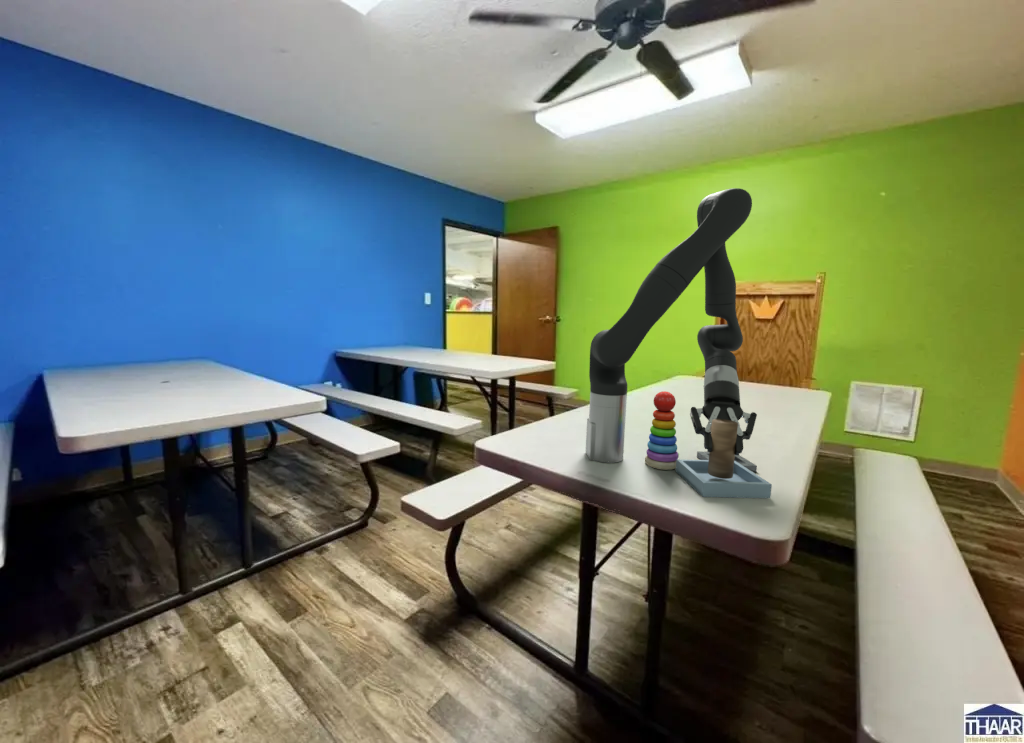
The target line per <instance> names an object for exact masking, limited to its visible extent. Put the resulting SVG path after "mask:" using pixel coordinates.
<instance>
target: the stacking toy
mask: <svg viewBox="0 0 1024 743" xmlns="http://www.w3.org/2000/svg"><path fill="white" fill-rule="evenodd" d="M676 402H677V401H676V397H675V395H674V394H672V393H671V392H669V391H660V392H657V394H655V395H654V397H653V405H654V407H655V410H654V411H653V413H652V416H653V419H652V420H651V424H652V425H651V427H650V431H649V432H650V434H649V435H648V439H649V440H648V441H647V449H646V455H645V457H644V462H645V464H646V465H647V466H648V467H651V468H654V469H656V470H661V471H665V470H667V471H671V470H676V460H677V459H679V457H680V456H679V452H678V451H677V450H678V445H677V444H676V443H677V441H678V440H677V436H676V434H677V430H676V428H675V427H676V426H677V423H676V421H675V420H674V419H675V417H676V414H675V412H674V411H672V410H673V409H674V408H675V406H676Z"/></svg>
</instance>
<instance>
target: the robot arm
mask: <svg viewBox="0 0 1024 743" xmlns="http://www.w3.org/2000/svg"><path fill="white" fill-rule="evenodd" d="M752 200H753V198H752V195H751V194H750V193H749V192H748V190H746V189H743V188H736V187H735V188H734V187H733V188H729V189H727V188H726V189H724V190H719V191H717V192H713V193H710V194H709V195H707V196H705V197H704V198H702V200H701V201H700V203H699V204H698V207H697V210H696V220H697V229H696V230H694V232H693V233H691V235H689V236H688V237H687V238H685V239H684V240H683V241H682V242H680V243H679V244H677V245H676V246H675V247H673V249H671V250H670V251H669V252H667V253H666V254H665V255H664V256H663V257H662V258H661V259H660V260H659V261H658V262H657V263H656V264H655V266H654V267H653V268H651V271H650V272H649V273H648V274H647V275H646V277H645V278H644V280H643V281H642V282H641V284H640V286H639V288H638V290H637V292H636V294H635V295H634V298H633V300H632V302H631V304H630V305H629V307H628V308H627V310H626V312H624V313H623V315H622V316H621V317H620V318H619V319H618V320H617V322H616V323H615V324H613V325H612V327H610V328H609V329H603V330H601V331H598V332H597V333H596V334H595V335H594V336H593V338H592V340H591V342H590V347H589V374H588V375H589V376H588V377H589V383H590V384H589V385H590V386H589V387H590V388H589V390H590V391H589V392H590V393H589V409H588V410H589V412H588V417H587V418H586V436H585V437H586V438H585V454H586V457H587V458H588V460H589V461H595V462H601V463H619V462H621V461H623V460H624V452H625V450H624V447H625V436H626V435H625V432H626V419H627V418H626V416H627V415H626V413H627V403H628V402H627V400H628V399H627V398H628V381H627V378H626V373H625V372H626V371H625V369H626V363H628V362H629V361H630V360H631V358H632V357H633V355H634V354H635V352H636V350H638V348H639V346H640V345H641V344H642V342H643V340H644V339H645V337H646V336H647V334H648V333H649V332H650V330H651V329H652V328H653V326H655V325H656V324H657V322H658V321H659V320H660V319H661V318H662V317H663V316H664V315H665V314H666V312H668V310H669V309H670V308H671V307H672V305H673V304H674V303H675V302H676V301H677V300H678V298H679V297H680V296H682V294H683V292H684V291H685V290H686V289H687V288H688V287H689V285H690V284H691V283H692V282H693V280H694V279H695V277H696V276H697V275H698V274H699V272H701V270H703V268H704V270H703V271H704V309H705V310H704V311H705V314H706V316H709V317H715V318H721V319H723V320H725V322H726V324H710V325H703V326H702V327H701V328H700V329H699V331H698V332H697V335H696V336H697V338H696V340H697V344H698V347H699V348H700V349H699V350H700V351H701V354H702V356H703V360H704V379H703V406H702V407H701V408H697V407H695V406H692V407H691V408H690V411H689V412H690V413H689V415H690V420H691V423H692V425H693V426H692V427H693V429H694V432H695V433H694V434H696V435H702V436H703V448H704V450H707V451H706V452H711V450H712V436H711V429H712V420H713V419H726V420H732V421H735V422H737V423H738V428H737V438H736V447H735V455H738V456H739V455H740V454H742V453H743V450H744V440H746V441H747V440H750V439H751V437H752V435H753V431H754V429H755V428H754V427H755V424H756V421H757V420H756V419H757V417H758V414H757V413H756V412H754V411H751V412H750V413H749V412H746V411H744V410H743V409H742V407H741V395H740V394H741V393H740V385H739V384H740V382H739V376H738V370H737V368H738V367H737V359H736V356H735V354H734V353H733V352H735V351H736V352H737V350H739V349H740V348H741V346H742V345H743V341H744V337H743V333H742V329H741V326H740V323H739V321H738V320H739V319H738V315H737V308H736V307H737V306H736V302H737V301H736V298H737V282H736V277H735V273H734V269H733V267H732V265H731V262H730V260H729V257H728V253H727V246H726V242H727V241H728V240H729V239H730V238H731V237H732V236H733V235H734V234H735V233H736V232H737V231H738V230H739V229H740V228H741V227H742V226H743V225H744V224H745V222H746V221H747V219H748V218H749V217H750V214H751V211H752V207H753V201H752ZM702 415H703V416H704V417H705V418H706V420H707V421H708V422H707V424H706V426H705V427H704V426H702V425H703V424H702V421H701V419H700V418H701V416H702ZM741 418H742V419H743V421H744V422H745V424H746V427H745V428H746V429H745V430H742V428H741V425H740V422H739V421H740V420H741Z"/></svg>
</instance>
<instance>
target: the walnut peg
mask: <svg viewBox="0 0 1024 743" xmlns="http://www.w3.org/2000/svg"><path fill="white" fill-rule="evenodd" d="M737 428H738V423H737V422H735V421H732V420H726V419H713V420H712V429H711V436H712V450H711V452H709V462H708V474H709V475H711V476H714V477H717V478H723V479H729V478H732V477H733V469H734V459H735V447H736V438H737Z"/></svg>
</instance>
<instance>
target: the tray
mask: <svg viewBox="0 0 1024 743" xmlns="http://www.w3.org/2000/svg"><path fill="white" fill-rule="evenodd" d="M708 462H709V460H700V459H681V458H680V459H679V458H678V459H677V460H676V468H675V472H676V473H677V474H678V475H679V476H680V477H681V478H682V479H683V480H684V481H685V482H686V483H688V485H689V486H690V487H691V488H693V490H695V492H696V493H698V494H699V495H700V496H701V497H705V498H743V499H744V498H745V499H771V494H772V483H770V482H769V481H767V480H765V479H764V478H763V477H761V476H760V475H758V474H756V473H755V472H752V471H750V470H749V469H747V468H746V467H744V466H742V465H741V464H739V463H738V462H736V461H734V469H733V477H732V478H729V479H723V478H717V477H714V476H711V475H709V474H708Z"/></svg>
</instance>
